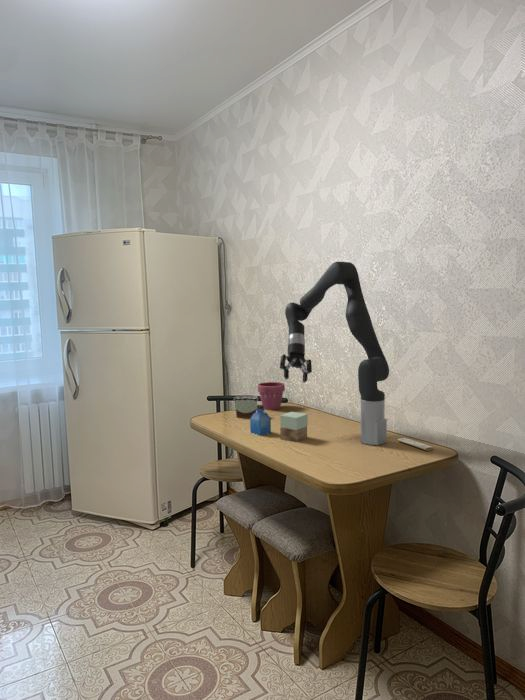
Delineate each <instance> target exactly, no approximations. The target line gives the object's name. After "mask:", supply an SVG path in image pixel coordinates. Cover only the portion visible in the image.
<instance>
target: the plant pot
mask: <svg viewBox="0 0 525 700" xmlns="http://www.w3.org/2000/svg"><path fill="white" fill-rule="evenodd" d="M285 388H286V387H285V383H283V382H279V381H277V382H276V381H267V382H260V383H258V384H257V392H258V393H259V397H260V402H261V405H264V407H263V408H264V410H269V411H270V410H272V411H273V410H274V411H275V410H278V409H281V405H282V400H283V395H284V392H285V390H286V389H285Z"/></svg>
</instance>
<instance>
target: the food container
mask: <svg viewBox="0 0 525 700" xmlns="http://www.w3.org/2000/svg"><path fill="white" fill-rule="evenodd" d="M233 402H234V408H235V416H236V418H237V417H252V415H253V413H256V412H257V411H256V408H257V405H258V402H259V397H258V396H257V395H251V394H241V395H237V396H234V397H233Z"/></svg>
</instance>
